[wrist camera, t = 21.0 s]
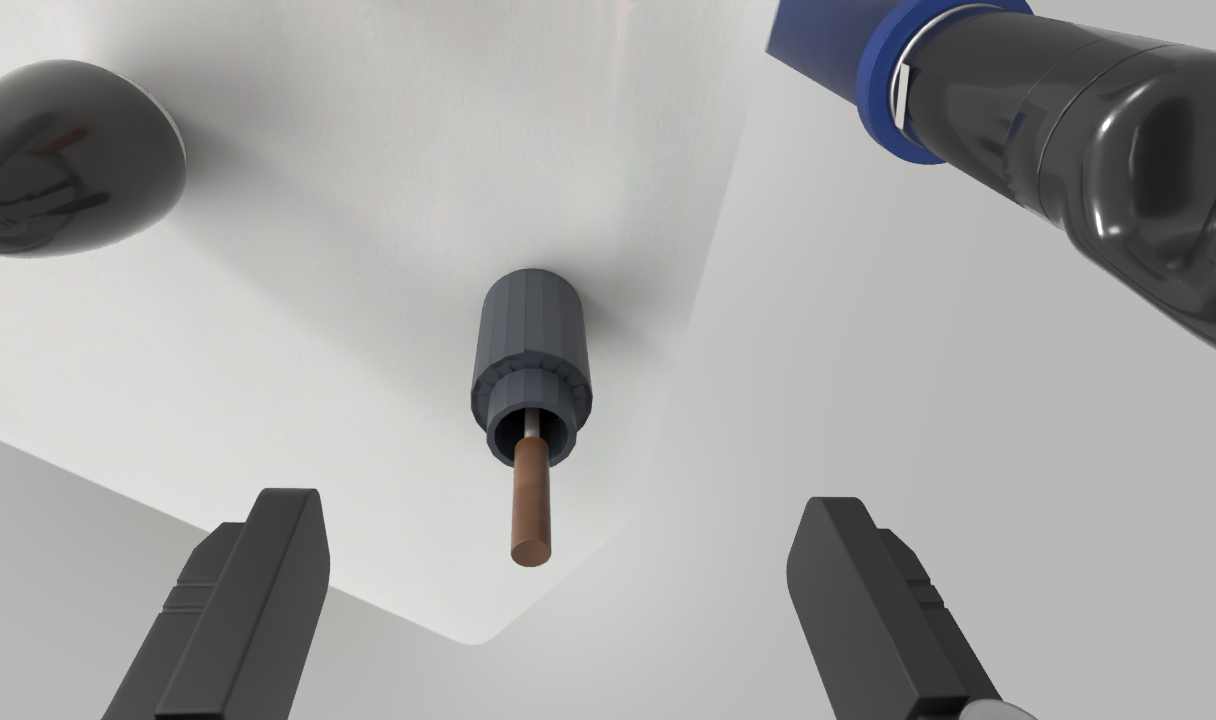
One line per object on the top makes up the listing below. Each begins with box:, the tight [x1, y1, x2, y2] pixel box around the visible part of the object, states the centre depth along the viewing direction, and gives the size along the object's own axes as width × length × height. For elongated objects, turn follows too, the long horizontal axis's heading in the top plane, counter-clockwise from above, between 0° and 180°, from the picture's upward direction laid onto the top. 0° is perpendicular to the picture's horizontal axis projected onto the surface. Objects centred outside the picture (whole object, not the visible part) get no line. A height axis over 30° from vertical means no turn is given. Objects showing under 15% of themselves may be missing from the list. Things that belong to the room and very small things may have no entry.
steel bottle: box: [471, 269, 593, 468], centre depth 48 cm, size 8×8×16 cm
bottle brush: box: [511, 407, 551, 567], centre depth 44 cm, size 3×3×24 cm
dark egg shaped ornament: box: [0, 59, 186, 259], centre depth 38 cm, size 10×10×15 cm
